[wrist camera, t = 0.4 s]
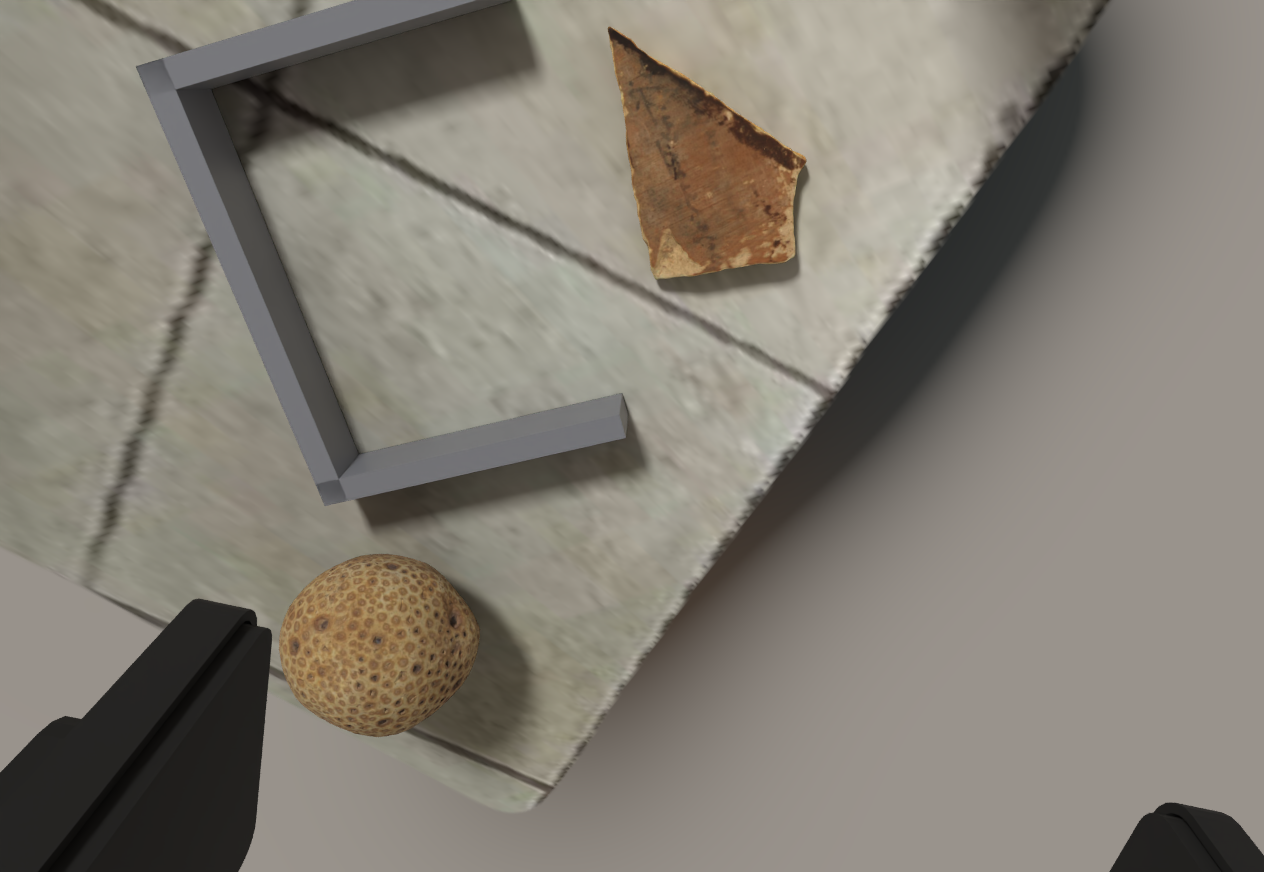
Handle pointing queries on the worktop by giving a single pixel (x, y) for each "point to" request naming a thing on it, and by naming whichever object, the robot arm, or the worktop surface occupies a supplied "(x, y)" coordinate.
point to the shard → (701, 173)
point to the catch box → (263, 288)
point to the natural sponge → (377, 644)
